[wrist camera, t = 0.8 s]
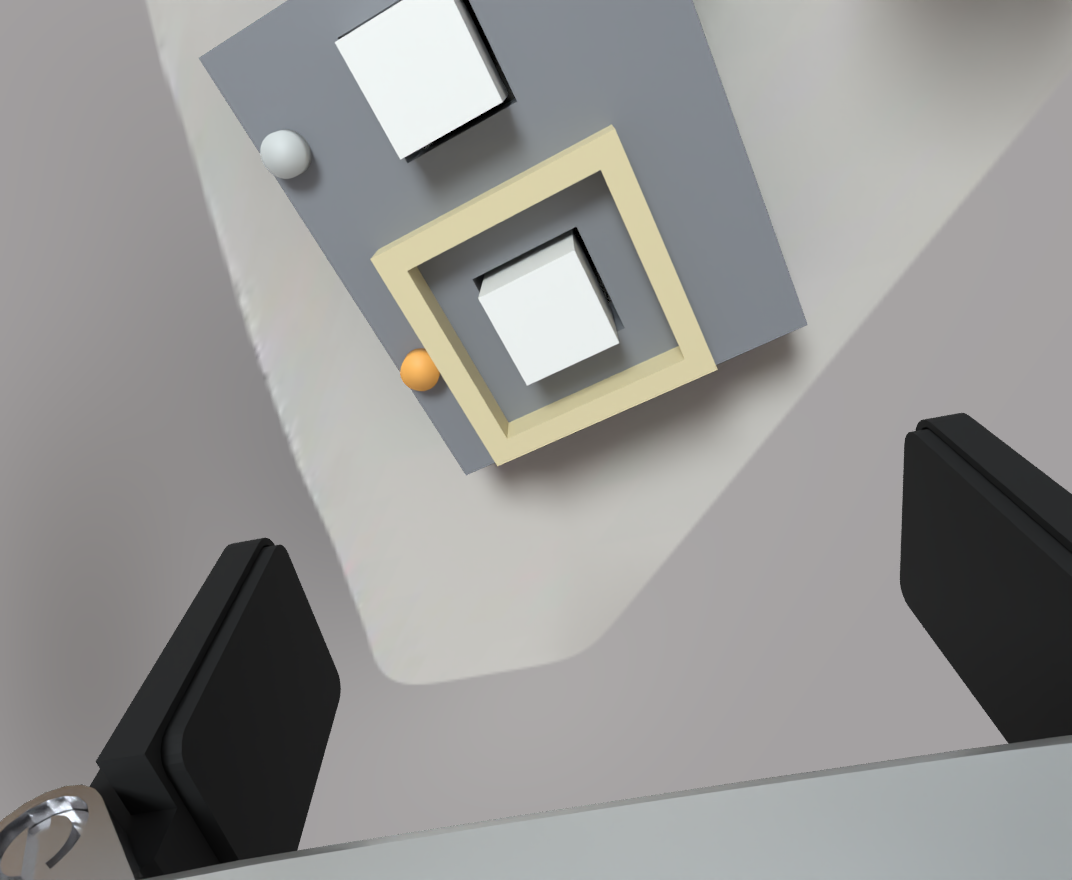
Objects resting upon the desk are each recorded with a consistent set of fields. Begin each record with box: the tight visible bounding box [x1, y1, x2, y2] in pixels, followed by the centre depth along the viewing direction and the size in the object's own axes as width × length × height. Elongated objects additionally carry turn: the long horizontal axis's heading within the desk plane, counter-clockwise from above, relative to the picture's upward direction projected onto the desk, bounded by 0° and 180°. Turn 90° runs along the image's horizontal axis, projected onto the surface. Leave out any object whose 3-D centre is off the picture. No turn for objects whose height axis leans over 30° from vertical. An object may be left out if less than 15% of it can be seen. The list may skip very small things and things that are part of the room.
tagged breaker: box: [478, 228, 619, 386], centre depth 30 cm, size 4×4×4 cm
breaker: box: [335, 0, 508, 160], centre depth 26 cm, size 4×4×4 cm
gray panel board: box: [199, 0, 807, 475], centre depth 29 cm, size 16×19×6 cm
